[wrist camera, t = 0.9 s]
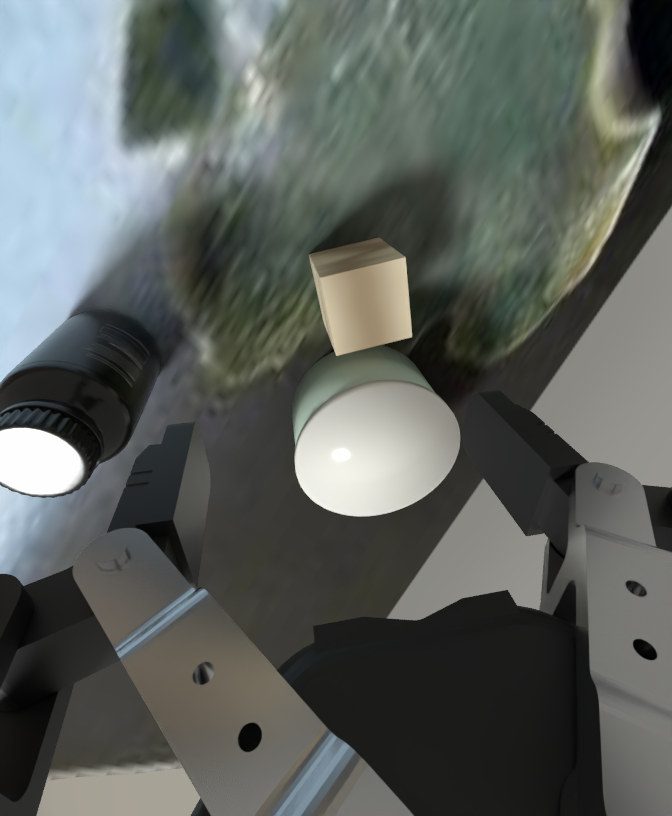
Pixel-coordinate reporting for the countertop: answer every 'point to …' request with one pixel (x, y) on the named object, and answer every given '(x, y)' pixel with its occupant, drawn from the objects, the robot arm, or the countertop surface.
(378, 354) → the round lidded container
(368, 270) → the beech block
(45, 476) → the supplement bottle
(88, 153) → the countertop surface
